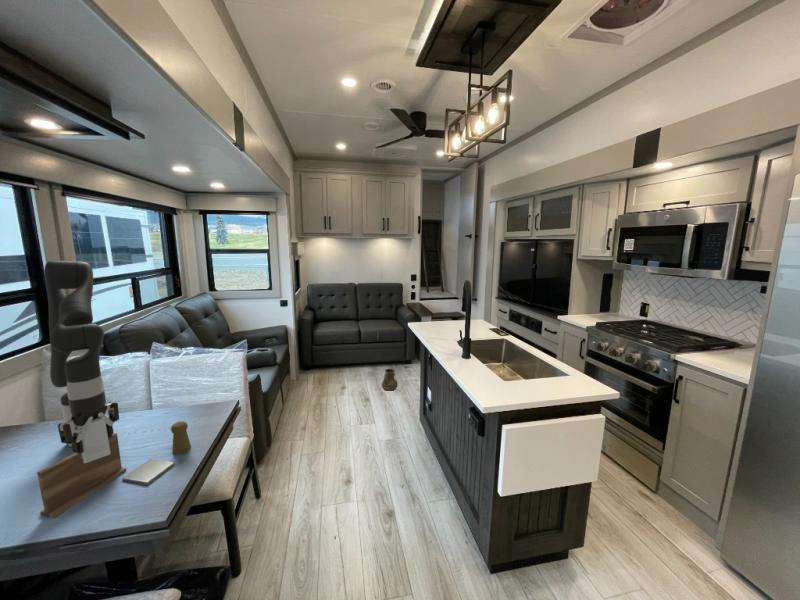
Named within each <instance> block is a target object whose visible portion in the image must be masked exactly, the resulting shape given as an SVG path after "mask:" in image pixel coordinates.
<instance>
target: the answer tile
mask: <svg viewBox="0 0 800 600" xmlns="http://www.w3.org/2000/svg"><path fill="white" fill-rule="evenodd" d="M174 466H175V462H171V461H168V460H167V461H166V460H159V459H152V458H151V459H148V460H147V461H146V462H144V463H142V464H141V465H140V466H138V467H136V468H135V469H134V470H132V471H130V472H129V473H128V474H126V475H124V476H123V477H122V478H121V480H125V481H124V482H127V481H130V482H129V483H132V482H134V483H135V484H138V485H144V486H149V485H150V484H151V483H152V482H154V481H156V480H157V479H158V478H159V477H160V476H162V475H163V474H164V473H166V472H167V471H168V470H170V469H171V468H172V467H174ZM134 483H133V484H134Z"/></svg>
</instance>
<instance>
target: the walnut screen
mask: <svg viewBox="0 0 800 600" xmlns="http://www.w3.org/2000/svg"><path fill="white" fill-rule="evenodd" d="M108 440H109V446H110V452H111V454H109V455H107V456H104V457H101V458H99V459H96V460H93V461H90V462H88V463H84V462H83V458H82V453H81V454H78V453H75V452H73V453H72V454H70V455H68V456H66V457H65V458H63V459H60V460H59V461H57V462H54V463H52V464H51V465H49V466H47V467H45V468H43V469H41V470H39V471H37V478H38V479H37V480H38V484H39V489H40V494H41V500H42V505H43V509H42V510H41V511H40V516H42V517H46V518H51V519H55V518H58V516H61V515H62V514H64V513H65V512H66V511H68V510H70V509H71V508H72V507H74V506H76V505H77V504H79V503H80V502H81V501H83V500H85V499H86V498H87V497H89V496H91V495H92V494H93V493H96V491H98V490H99V489H101V488H103V487H104V486H106V484H109V483H110V482H112V481H113V480H115V479H116V478H118V477H119V476H121V475H122V474H123V472H124V473H125V472H127V468H126V467H122V459H121V452H120V445H119V439H118V433H115V432H113V435H112V437H111V438H108ZM121 473H122V474H121ZM120 474H121V475H120ZM118 475H119V476H118ZM117 476H118V477H117ZM115 477H116V478H115ZM114 478H115V479H114ZM112 479H113V480H112ZM111 480H112V481H111ZM108 482H109V483H108Z"/></svg>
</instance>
